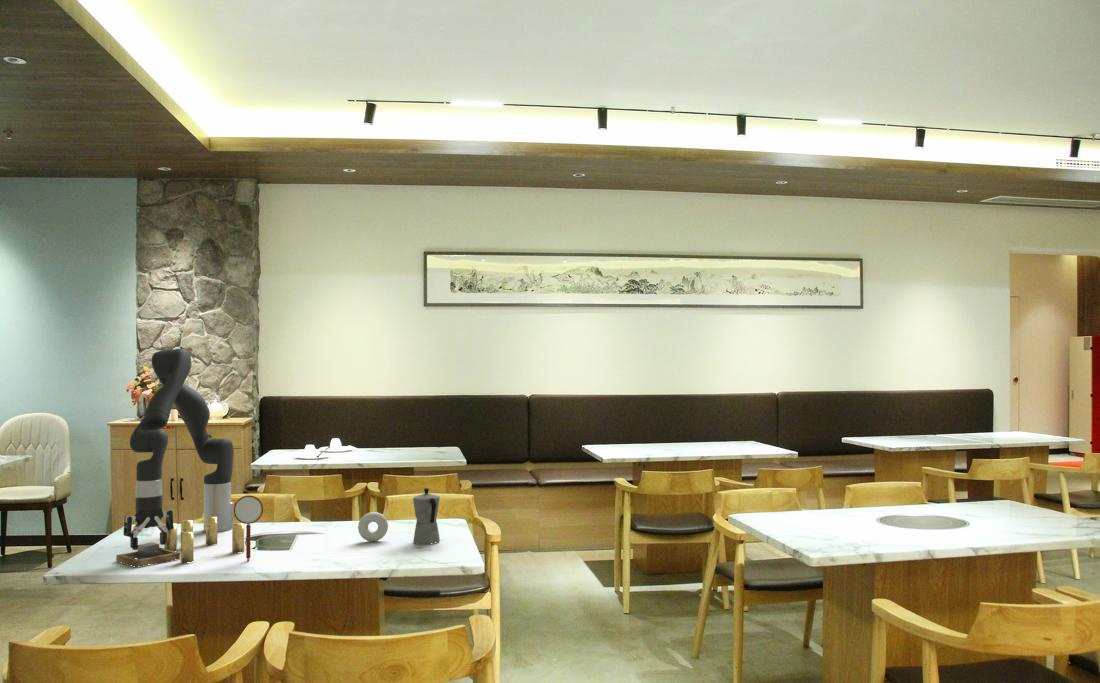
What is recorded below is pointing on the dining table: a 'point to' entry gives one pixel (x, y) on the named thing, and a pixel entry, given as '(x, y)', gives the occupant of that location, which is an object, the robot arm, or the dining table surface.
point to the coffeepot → (426, 518)
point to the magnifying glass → (248, 515)
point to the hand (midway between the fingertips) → (148, 547)
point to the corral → (130, 558)
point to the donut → (367, 520)
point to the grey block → (148, 550)
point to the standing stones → (211, 537)
